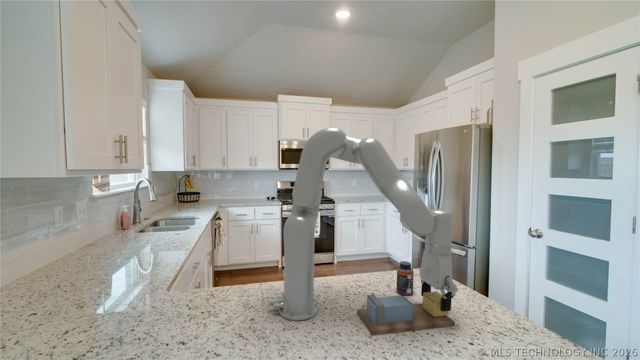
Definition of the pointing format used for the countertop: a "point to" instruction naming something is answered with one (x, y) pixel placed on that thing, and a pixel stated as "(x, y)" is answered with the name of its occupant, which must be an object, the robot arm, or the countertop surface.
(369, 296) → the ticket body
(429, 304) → the yellow block
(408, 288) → the supplement bottle
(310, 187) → the robot arm
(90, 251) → the countertop surface
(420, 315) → the board
